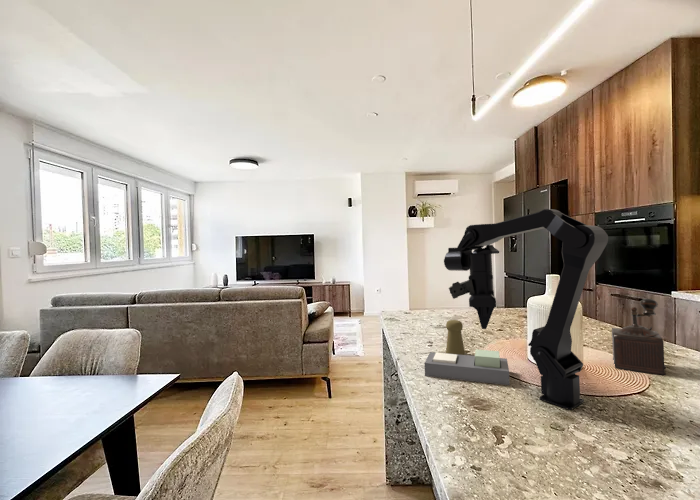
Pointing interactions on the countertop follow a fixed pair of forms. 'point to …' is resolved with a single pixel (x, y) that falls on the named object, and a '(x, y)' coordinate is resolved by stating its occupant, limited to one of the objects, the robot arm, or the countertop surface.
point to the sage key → (487, 358)
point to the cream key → (445, 358)
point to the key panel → (467, 370)
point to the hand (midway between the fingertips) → (483, 328)
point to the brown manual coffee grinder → (639, 344)
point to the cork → (454, 338)
